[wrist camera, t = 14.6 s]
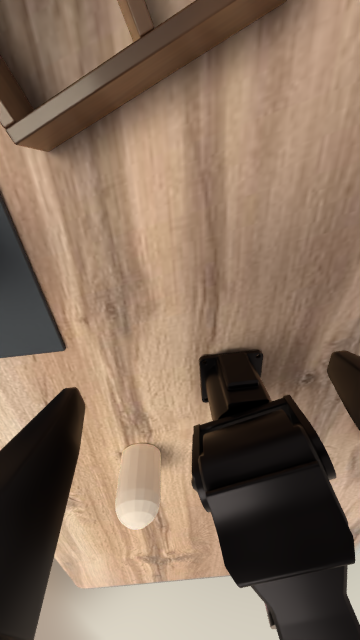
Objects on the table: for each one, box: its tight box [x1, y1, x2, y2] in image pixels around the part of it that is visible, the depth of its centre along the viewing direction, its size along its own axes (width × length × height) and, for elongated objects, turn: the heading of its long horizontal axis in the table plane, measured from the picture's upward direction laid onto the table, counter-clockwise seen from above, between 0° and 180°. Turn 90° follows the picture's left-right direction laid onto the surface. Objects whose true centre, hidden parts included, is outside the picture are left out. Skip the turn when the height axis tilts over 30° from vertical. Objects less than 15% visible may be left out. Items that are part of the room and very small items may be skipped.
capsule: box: [115, 443, 161, 530], centre depth 29 cm, size 5×5×8 cm
